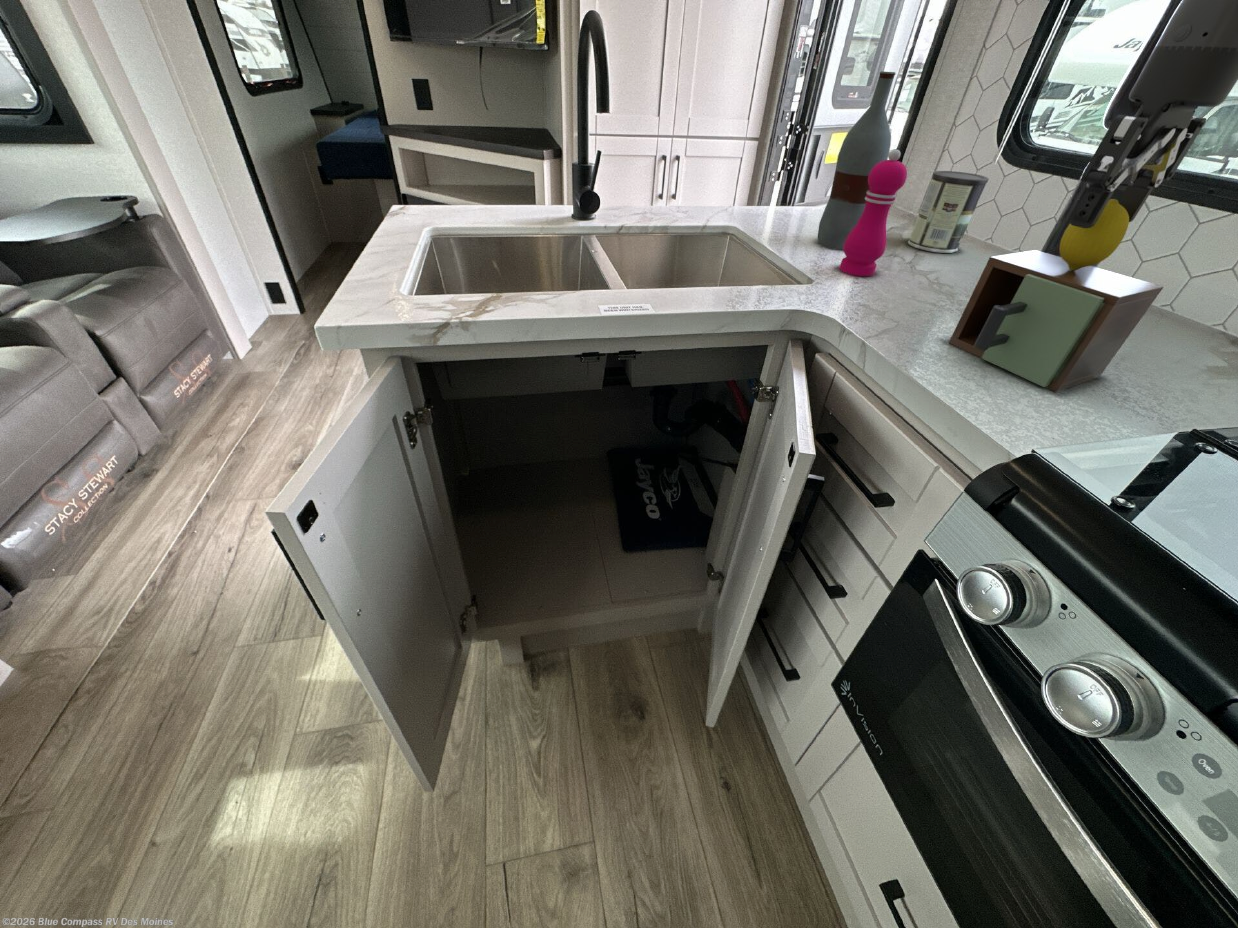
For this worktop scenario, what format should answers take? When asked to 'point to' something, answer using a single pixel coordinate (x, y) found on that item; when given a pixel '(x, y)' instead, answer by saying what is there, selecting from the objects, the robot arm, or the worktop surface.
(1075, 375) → the cabinet
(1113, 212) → the lemon
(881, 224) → the pepper mill
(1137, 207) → the robot arm
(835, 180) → the bottle
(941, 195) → the coffee can
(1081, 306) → the door
